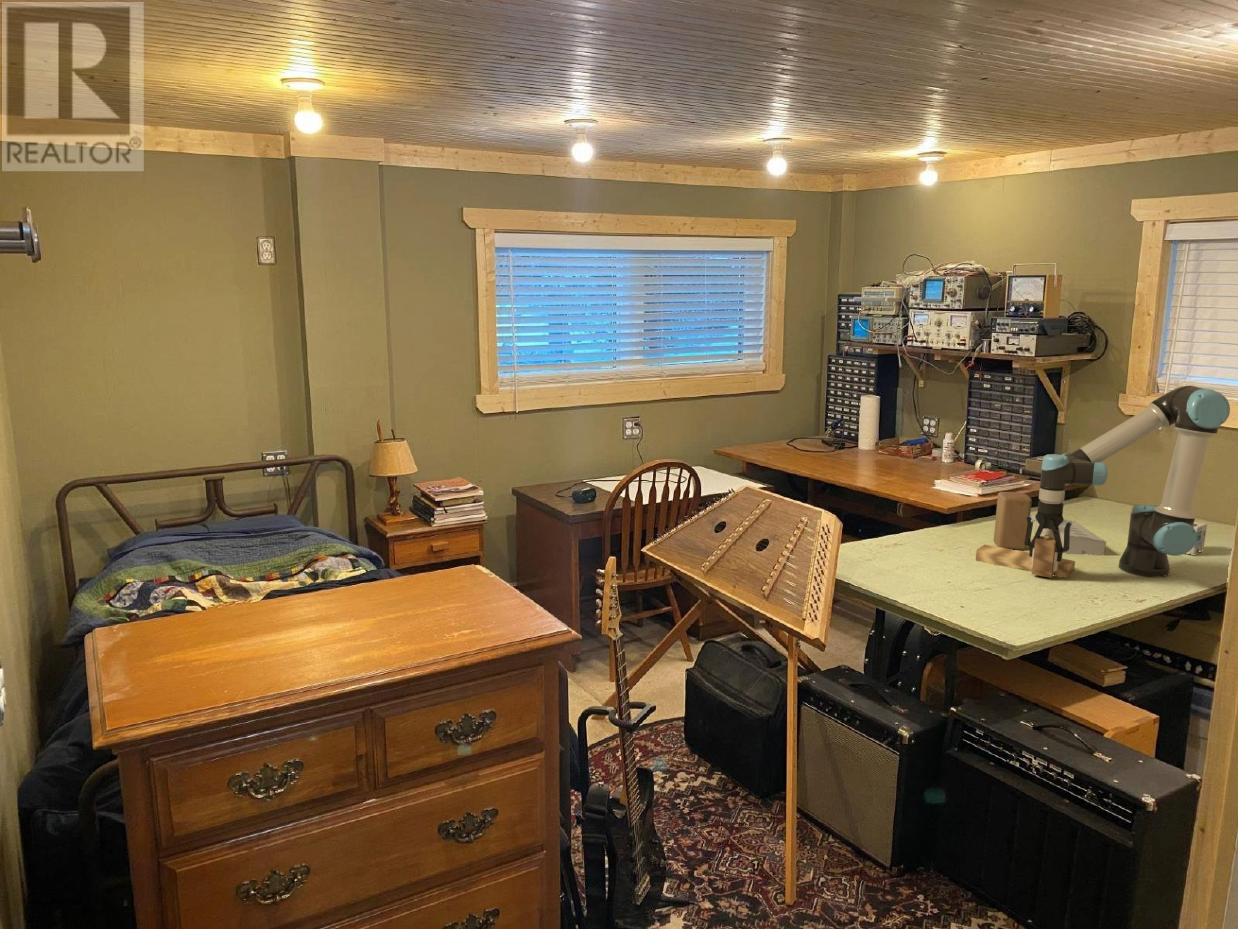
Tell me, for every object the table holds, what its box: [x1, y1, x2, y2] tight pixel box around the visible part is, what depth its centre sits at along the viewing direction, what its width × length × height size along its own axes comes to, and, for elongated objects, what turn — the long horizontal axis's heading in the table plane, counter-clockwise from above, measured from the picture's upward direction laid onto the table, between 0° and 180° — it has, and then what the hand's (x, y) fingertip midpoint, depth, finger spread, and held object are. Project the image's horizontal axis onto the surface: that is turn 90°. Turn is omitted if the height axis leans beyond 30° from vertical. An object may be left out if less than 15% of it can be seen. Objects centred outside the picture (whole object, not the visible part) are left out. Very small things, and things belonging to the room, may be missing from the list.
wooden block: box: [993, 491, 1033, 551], centre depth 328 cm, size 10×10×20 cm
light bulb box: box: [1186, 521, 1208, 556], centre depth 325 cm, size 11×7×11 cm, turn 129°
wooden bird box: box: [1031, 535, 1057, 579], centre depth 296 cm, size 6×15×13 cm, turn 141°
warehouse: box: [1034, 518, 1107, 556], centre depth 334 cm, size 30×14×8 cm, turn 173°
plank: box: [975, 543, 1076, 579], centre depth 305 cm, size 30×9×4 cm, turn 51°
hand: (1044, 568), depth 294 cm, fingers closed on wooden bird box, 6 cm apart
